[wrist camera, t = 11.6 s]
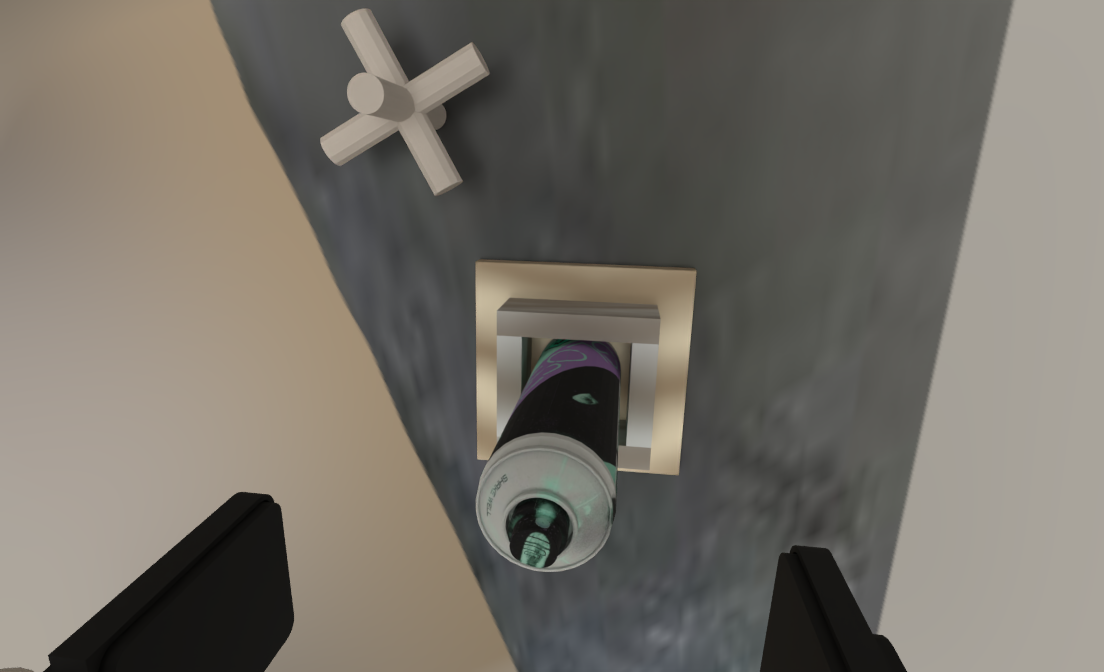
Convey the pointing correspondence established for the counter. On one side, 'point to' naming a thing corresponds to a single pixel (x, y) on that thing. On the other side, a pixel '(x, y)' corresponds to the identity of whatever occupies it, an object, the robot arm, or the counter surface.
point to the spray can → (556, 461)
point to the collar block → (594, 315)
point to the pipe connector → (401, 102)
